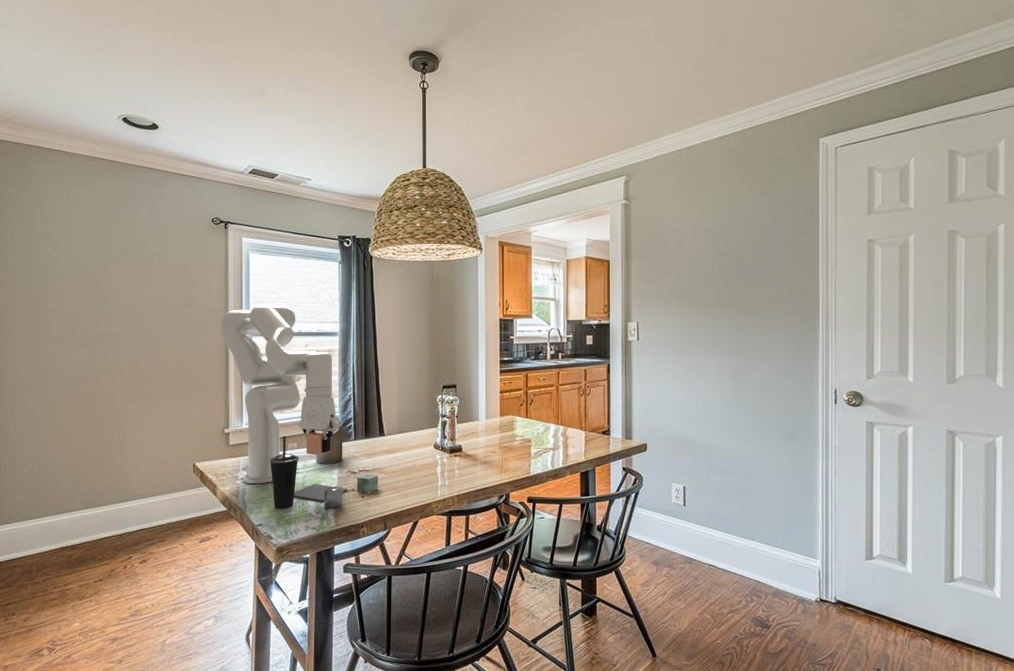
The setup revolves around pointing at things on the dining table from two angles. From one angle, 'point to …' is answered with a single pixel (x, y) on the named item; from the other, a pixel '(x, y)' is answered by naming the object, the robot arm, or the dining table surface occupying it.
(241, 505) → the dining table surface
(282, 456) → the drinking cup
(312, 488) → the black mat
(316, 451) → the terracotta block
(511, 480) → the dining table surface
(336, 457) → the pillar candle
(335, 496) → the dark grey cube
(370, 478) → the green cube
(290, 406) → the robot arm
